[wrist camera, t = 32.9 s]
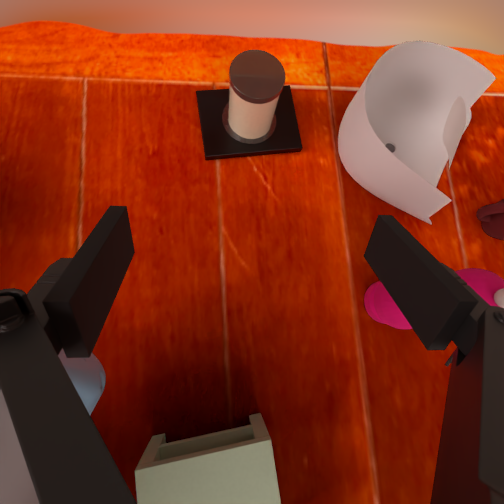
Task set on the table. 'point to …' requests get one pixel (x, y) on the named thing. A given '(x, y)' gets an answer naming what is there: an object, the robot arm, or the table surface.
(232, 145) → the hob plate
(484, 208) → the mug
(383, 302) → the pepper mill
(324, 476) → the table surface
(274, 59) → the jar
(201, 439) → the small table
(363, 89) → the white curved piece
